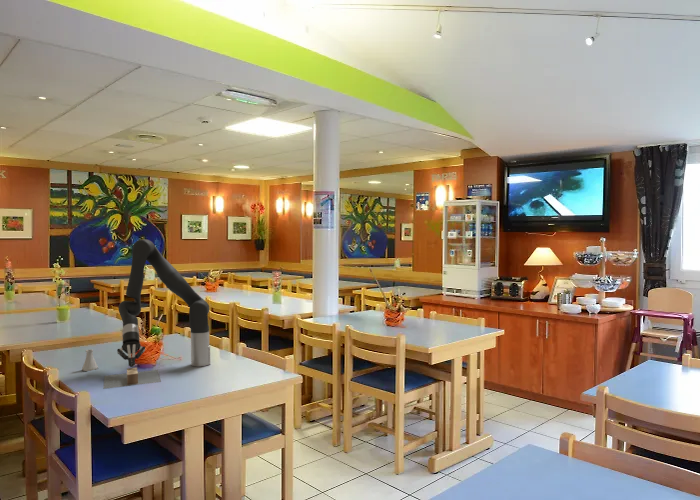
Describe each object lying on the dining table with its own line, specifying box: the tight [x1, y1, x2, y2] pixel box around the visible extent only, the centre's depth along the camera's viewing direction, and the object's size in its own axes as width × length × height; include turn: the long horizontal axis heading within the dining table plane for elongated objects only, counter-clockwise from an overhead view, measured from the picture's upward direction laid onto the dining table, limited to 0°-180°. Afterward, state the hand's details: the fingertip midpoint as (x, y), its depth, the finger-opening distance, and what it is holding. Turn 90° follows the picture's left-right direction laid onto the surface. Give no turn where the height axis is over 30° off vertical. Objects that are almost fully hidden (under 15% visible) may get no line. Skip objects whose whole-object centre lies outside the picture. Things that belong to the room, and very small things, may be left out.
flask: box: [81, 349, 99, 372], centre depth 258 cm, size 7×7×10 cm
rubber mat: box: [102, 369, 162, 390], centre depth 240 cm, size 24×22×1 cm
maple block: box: [126, 367, 139, 385], centre depth 237 cm, size 4×4×12 cm
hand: (131, 365), depth 240 cm, fingers closed
